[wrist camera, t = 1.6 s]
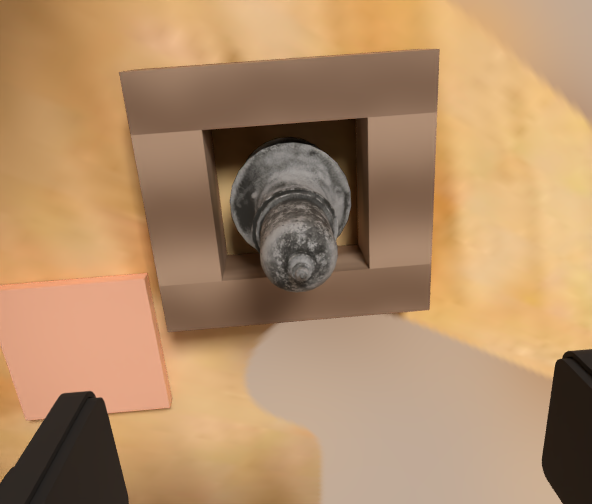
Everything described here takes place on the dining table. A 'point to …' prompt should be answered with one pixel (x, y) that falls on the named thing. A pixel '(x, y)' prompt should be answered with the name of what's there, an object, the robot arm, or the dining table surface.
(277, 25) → the dining table surface
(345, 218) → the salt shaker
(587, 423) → the robot arm
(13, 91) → the dining table surface
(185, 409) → the dining table surface
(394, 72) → the brown square wooden frame
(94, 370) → the terracotta tile
